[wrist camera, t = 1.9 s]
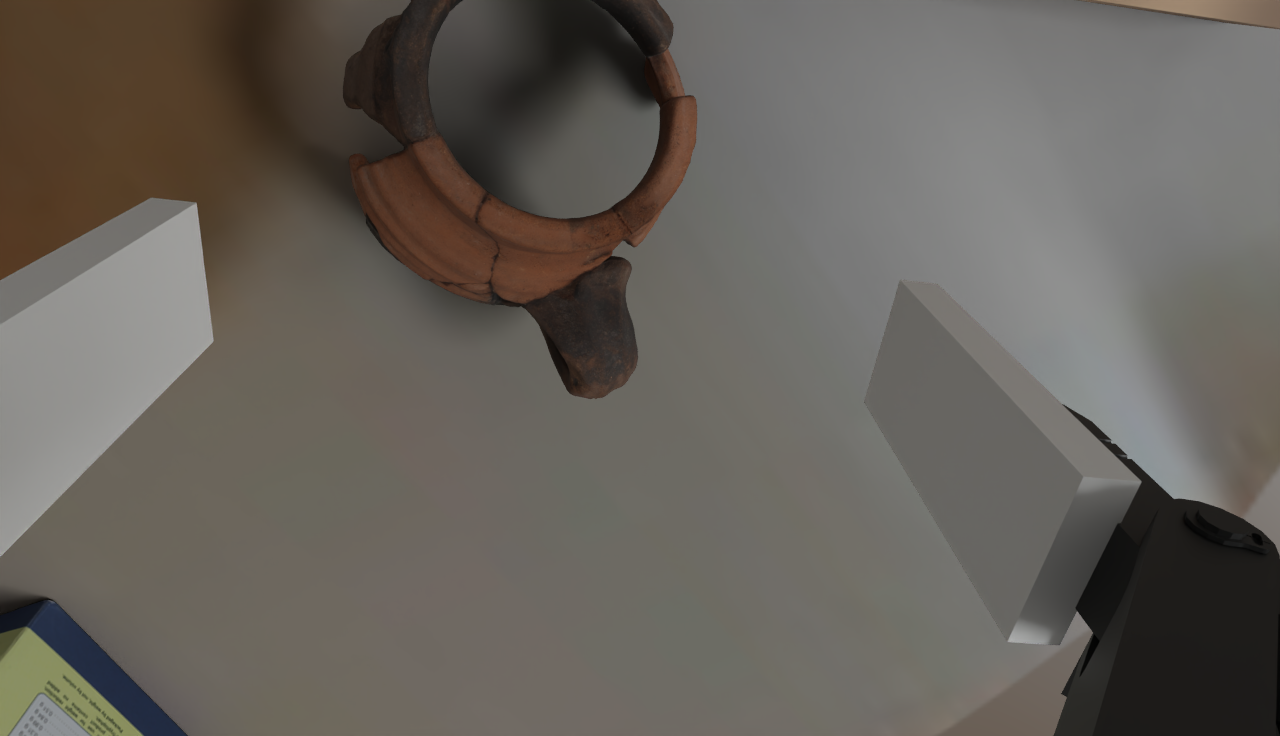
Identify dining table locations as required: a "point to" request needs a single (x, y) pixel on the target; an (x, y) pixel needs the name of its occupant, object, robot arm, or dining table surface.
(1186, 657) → the robot arm
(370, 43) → the broken clay pot rim
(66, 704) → the protein box
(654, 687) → the dining table surface
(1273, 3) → the tan plinth
